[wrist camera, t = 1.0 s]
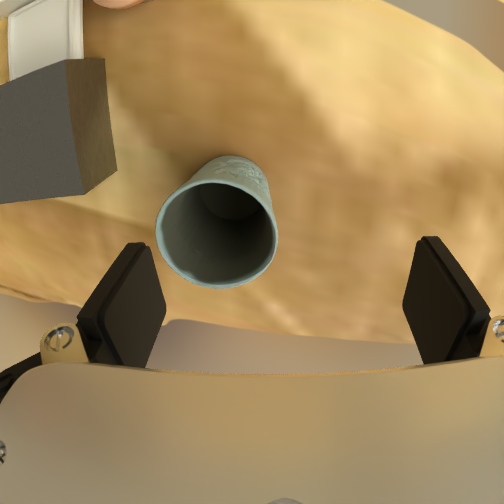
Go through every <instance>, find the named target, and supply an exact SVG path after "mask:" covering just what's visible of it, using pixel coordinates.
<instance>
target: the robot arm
mask: <svg viewBox="0 0 504 504" xmlns="http://www.w3.org/2000/svg"><path fill="white" fill-rule="evenodd" d="M402 306H403V311H404V314H405V316H406V318H407V321H408V323H409V326H410V329H411V331H412V334H413V336H414V339H415V342H416V344H417V347H418V350H419V352H420V355H421V358H422V361H423V363H424V365H416V366H408V367H400V368H390V369H379V370H368V371H354V372H338V373H318V374H269V375H268V374H222V373H200V372H184V371H171V370H159V369H148V368H145V366H146V364H147V361H148V358H149V356H150V353H151V350H152V348H153V345H154V342H155V340H156V338H157V335H158V332H159V330H160V327H161V325H162V322H163V320H164V317H165V314H166V303H165V300H164V296H163V293H162V289H161V286H160V282H159V279H158V275H157V271H156V268H155V264H154V260H153V256H152V253H151V249H150V247H149V246H146V245H145V243H143V242H138V243H128V244H127V245H126V246H125V248H124V249H123V250H122V252H121V253H120V254H119V256H118V257H117V258H116V260H115V261H114V263H113V264H112V265H111V267H110V268H109V270H108V271H107V272H106V274H105V275H104V277H103V278H102V280H101V281H100V282H99V284H98V285H97V287H96V288H95V290H94V291H93V293H92V294H91V296H90V297H89V299H88V300H87V302H86V303H85V305H84V306H83V308H82V309H81V311H80V312H79V314H78V315H77V319H78V322H77V324H76V325H74V324H71V323H61V324H58V325H55V326H53V327H52V328H50V329H49V330H48V331H47V332H46V333H45V334H44V335H43V337H42V339H41V341H40V352H39V353H37V354H35V355H33V356H31V357H29V358H27V359H25V360H23V361H21V362H19V363H17V364H15V365H13V366H11V367H10V368H7V369H5V370H4V371H2V372H1V373H0V504H504V316H496V317H494V318H492V319H491V317H490V316H489V312H490V308H489V307H488V305H487V304H486V302H485V301H484V299H483V298H482V296H481V295H480V293H479V292H478V290H477V289H476V287H475V286H474V284H473V283H472V281H471V280H470V278H469V277H468V276H467V274H466V273H465V271H464V270H463V269H462V267H461V266H460V264H459V263H458V262H457V260H456V259H455V258H454V256H453V255H452V254H451V252H450V251H449V250H448V248H447V247H446V246H445V245H444V243H443V242H442V241H441V239H440V238H439V237H438V236H423V237H422V238H421V240H419V241H417V243H416V247H415V252H414V257H413V261H412V266H411V270H410V274H409V278H408V282H407V286H406V290H405V294H404V298H403V303H402Z"/></svg>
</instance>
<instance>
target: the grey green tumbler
mask: <svg viewBox="0 0 504 504" xmlns="http://www.w3.org/2000/svg"><path fill="white" fill-rule="evenodd" d="M271 204H272V202H271V197H270V194H269V187H268V182H267V180H266V177H265V175H264V174H263V172H262V170H261V169H260V168H259V167H258V166H257V165H256V164H255V163H253V162H252V161H250V160H248V159H246V158H244V157H240V156H236V155H226V156H221V157H218V158H215V159H212V160H211V161H209V162H208V163H206V164H205V165H204V166H203V167H202V168H201V169H200V170H199V171H198V172H197V173H196V174H194V175H193V176H192V177H191V179H190V180H189V181H187V182H185V183H184V184H183V185H181V186H180V187H179V188H178V189H177V190H176V191H175V192H173V193H172V194H171V195H170V196H169V197H168V198H167V200H166V201H165V202H164V204H163V205H162V207H161V209H160V211H159V213H158V216H157V219H156V225H155V236H156V241H157V245H158V248H159V251H160V253H161V255H162V256H163V258H164V259H165V261H166V262H167V264H168V265H169V266H170V267H171V268H172V269H173V270H174V271H175V272H176V273H177V274H178V275H180V276H181V277H183V278H184V279H186V280H188V281H190V282H192V283H194V284H197V285H200V286H203V287H208V288H214V289H225V288H232V287H236V286H240V285H243V284H245V283H248V282H250V281H252V280H254V279H255V278H257V277H258V276H260V275H261V274H262V273H263V272H264V271H265V270H266V268H267V267H268V266H269V265H270V263H271V261H272V259H273V257H274V255H275V253H276V249H277V244H278V230H277V224H276V221H275V217H274V212H273V209H272V205H271Z"/></svg>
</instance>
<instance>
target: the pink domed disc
mask: <svg viewBox="0 0 504 504" xmlns="http://www.w3.org/2000/svg"><path fill="white" fill-rule="evenodd" d="M93 1H94V2H95V3H97V4H98V5H101V6H104V7H108V8H111V9H117V10H121V9H127V8H130V7H133V6H135V5H137V4H139V3H141V2H142V1H144V0H93Z"/></svg>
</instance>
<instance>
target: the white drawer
mask: <svg viewBox="0 0 504 504" xmlns="http://www.w3.org/2000/svg"><path fill="white" fill-rule="evenodd" d="M7 17H8V63H9V79H10V81H12V80H14V79H16V78H19V77H21V76H23V75H25V74H28V73H30V72H33V71H35V70H38V69H40V68H43V67H45V66H48V65H51V64H53V63H56V62H59V61H62V60H65V59H84V50H83V0H0V18H7Z"/></svg>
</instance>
